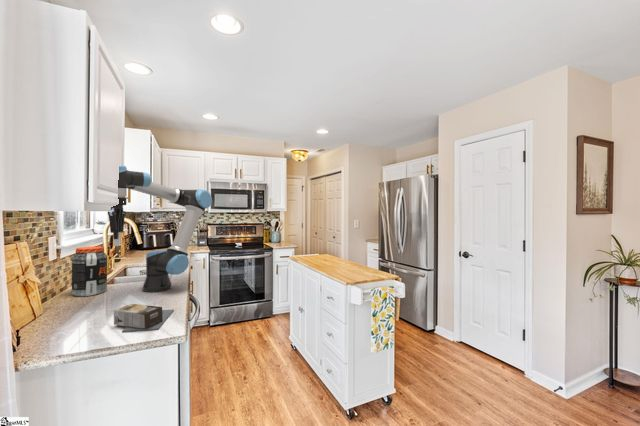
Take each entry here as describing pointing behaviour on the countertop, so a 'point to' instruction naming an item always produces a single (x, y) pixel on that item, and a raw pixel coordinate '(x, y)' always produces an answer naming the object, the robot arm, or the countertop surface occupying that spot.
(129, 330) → the mat
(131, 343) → the countertop surface
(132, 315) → the coffee box
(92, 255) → the supplement tub
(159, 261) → the robot arm
